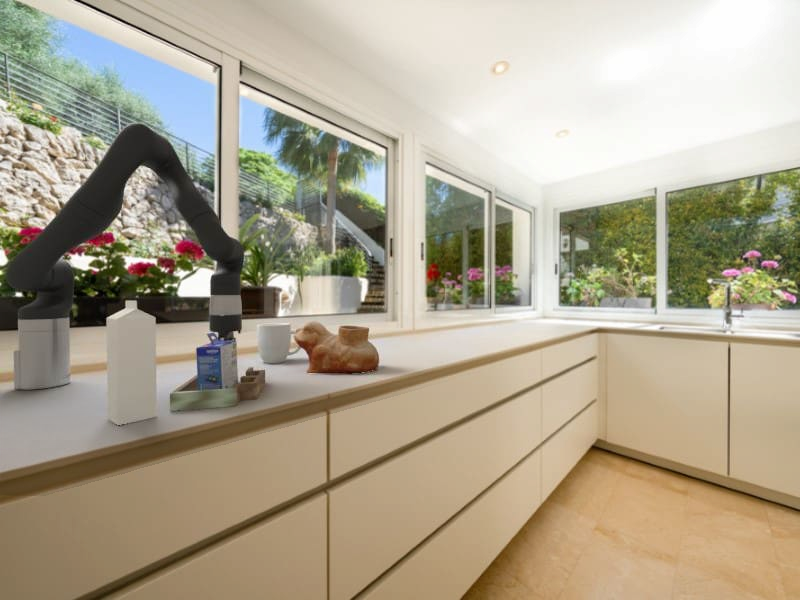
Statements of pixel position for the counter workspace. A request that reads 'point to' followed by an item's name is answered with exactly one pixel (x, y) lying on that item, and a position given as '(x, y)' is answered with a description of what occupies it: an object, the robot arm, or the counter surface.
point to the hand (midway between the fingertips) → (226, 379)
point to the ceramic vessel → (337, 349)
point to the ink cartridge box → (217, 364)
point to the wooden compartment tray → (217, 393)
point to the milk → (131, 365)
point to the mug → (274, 342)
